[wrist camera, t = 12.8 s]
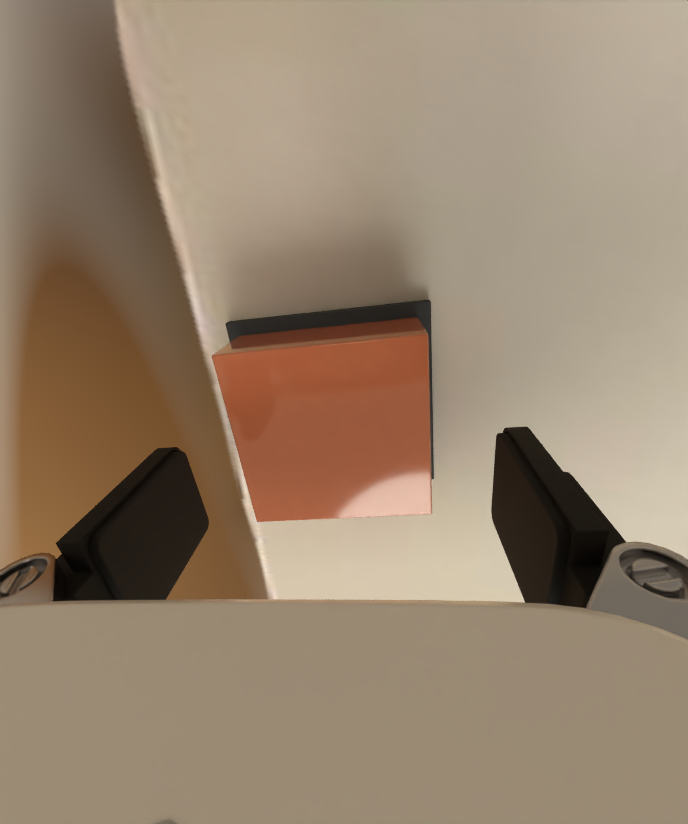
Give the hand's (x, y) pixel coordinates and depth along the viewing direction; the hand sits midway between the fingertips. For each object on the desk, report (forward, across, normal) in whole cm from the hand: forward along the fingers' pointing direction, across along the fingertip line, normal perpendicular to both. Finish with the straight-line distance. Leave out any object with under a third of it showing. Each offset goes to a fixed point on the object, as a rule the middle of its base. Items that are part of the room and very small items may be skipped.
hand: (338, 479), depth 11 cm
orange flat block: (+6, +1, 0) cm, 6 cm away
